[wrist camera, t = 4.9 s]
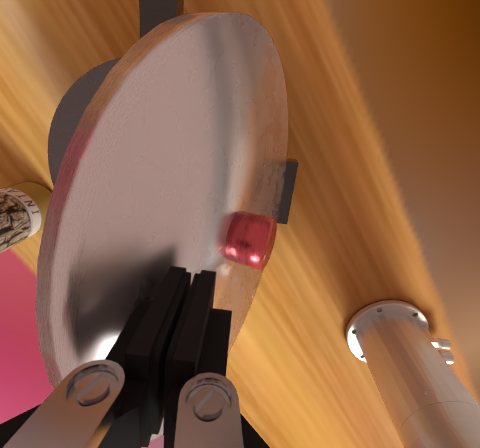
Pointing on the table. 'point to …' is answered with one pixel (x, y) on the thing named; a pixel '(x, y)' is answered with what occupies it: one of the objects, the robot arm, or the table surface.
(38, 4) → the table surface
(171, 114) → the cooker lid
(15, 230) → the brown cylindrical piece
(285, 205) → the pressure cooker pot
